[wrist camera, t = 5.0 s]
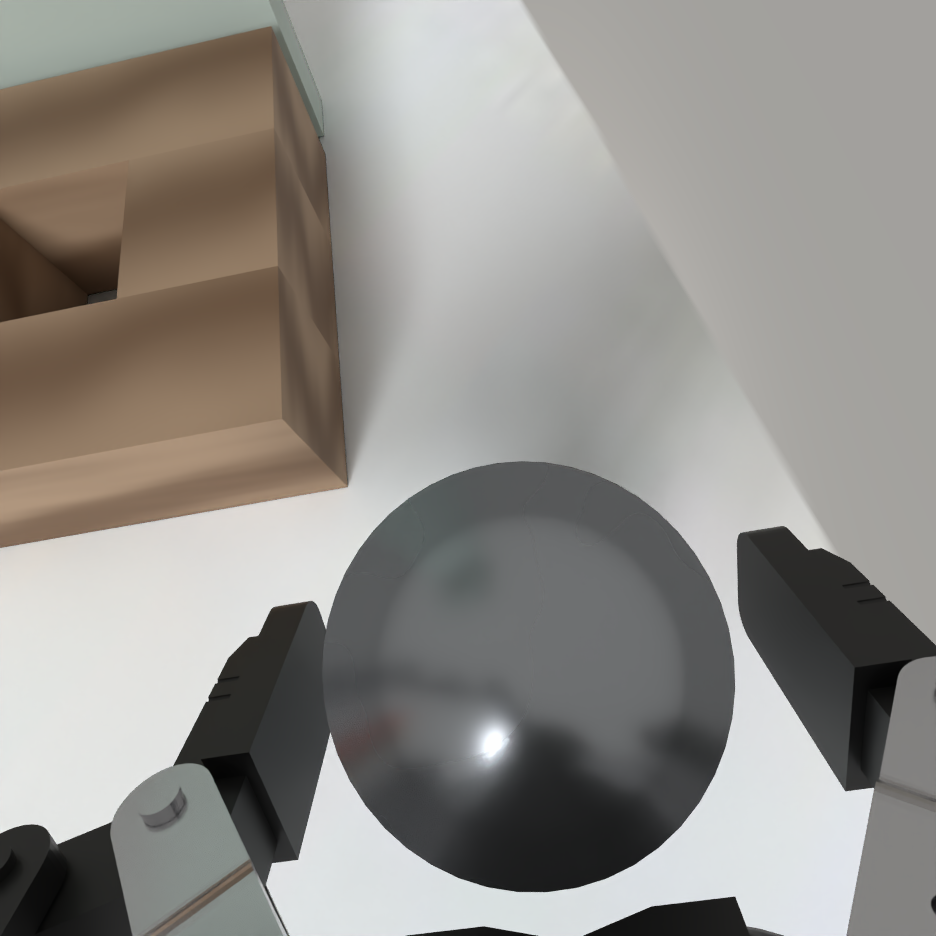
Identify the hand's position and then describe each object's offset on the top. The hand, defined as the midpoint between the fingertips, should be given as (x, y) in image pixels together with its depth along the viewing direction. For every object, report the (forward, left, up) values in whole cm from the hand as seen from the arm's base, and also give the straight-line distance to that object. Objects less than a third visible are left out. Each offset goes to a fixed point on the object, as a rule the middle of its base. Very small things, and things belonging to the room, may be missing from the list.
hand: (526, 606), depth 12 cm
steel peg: (-1, -1, -6) cm, 6 cm away
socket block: (-3, +17, -6) cm, 18 cm away
